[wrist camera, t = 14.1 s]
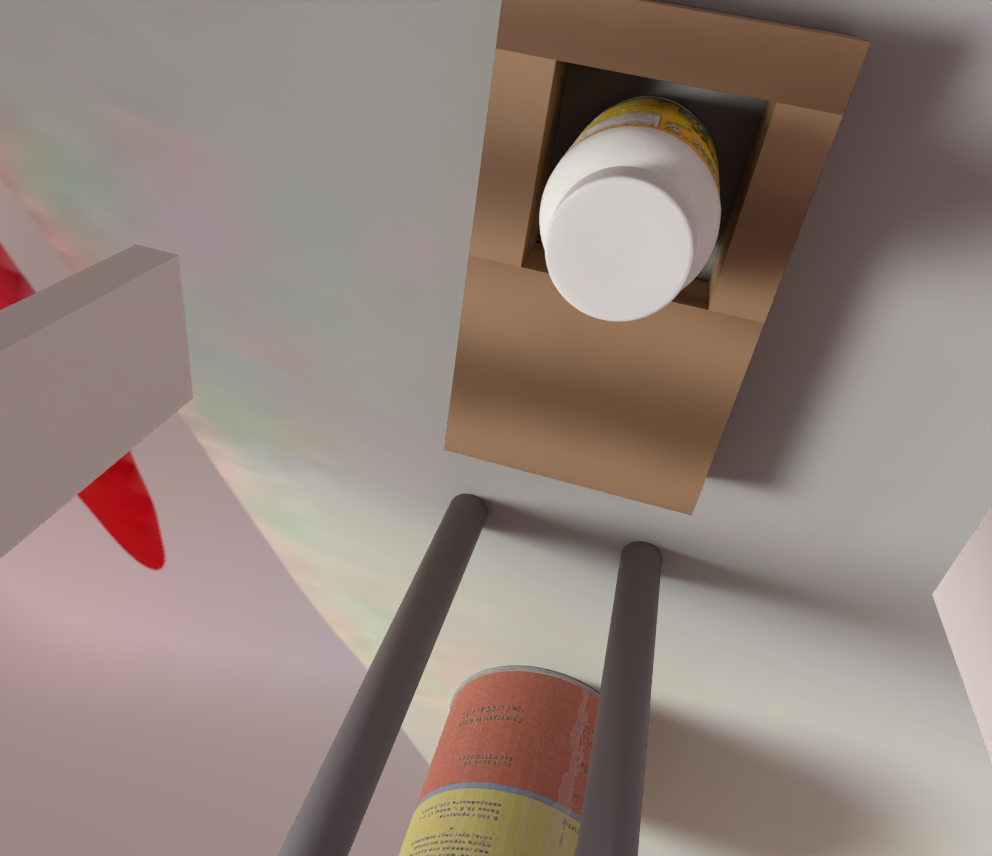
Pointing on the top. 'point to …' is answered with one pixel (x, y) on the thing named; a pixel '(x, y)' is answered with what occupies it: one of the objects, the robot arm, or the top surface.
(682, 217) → the supplement bottle
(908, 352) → the top surface
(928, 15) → the top surface
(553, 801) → the canned food
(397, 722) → the grey l-shaped post
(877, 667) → the top surface
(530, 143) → the socket block
